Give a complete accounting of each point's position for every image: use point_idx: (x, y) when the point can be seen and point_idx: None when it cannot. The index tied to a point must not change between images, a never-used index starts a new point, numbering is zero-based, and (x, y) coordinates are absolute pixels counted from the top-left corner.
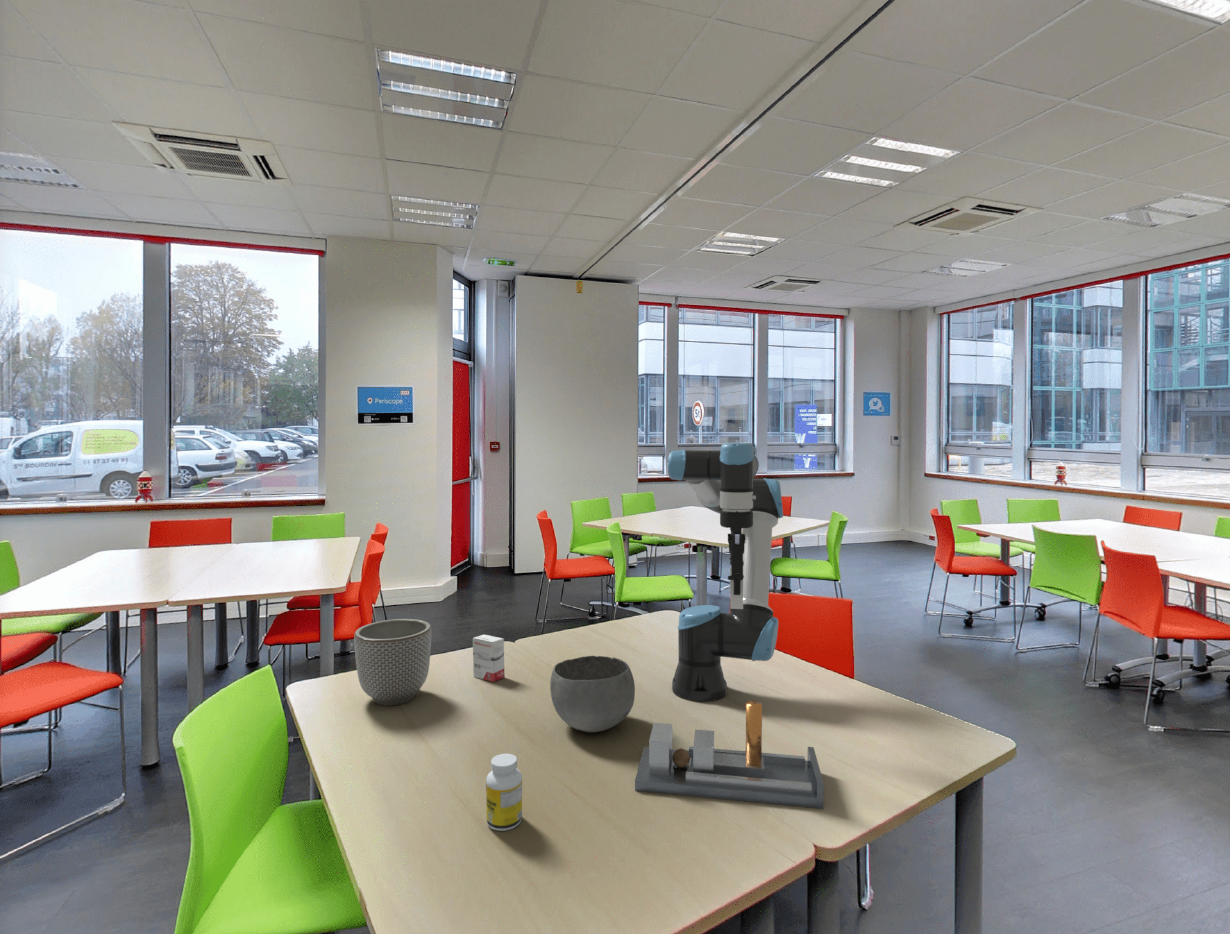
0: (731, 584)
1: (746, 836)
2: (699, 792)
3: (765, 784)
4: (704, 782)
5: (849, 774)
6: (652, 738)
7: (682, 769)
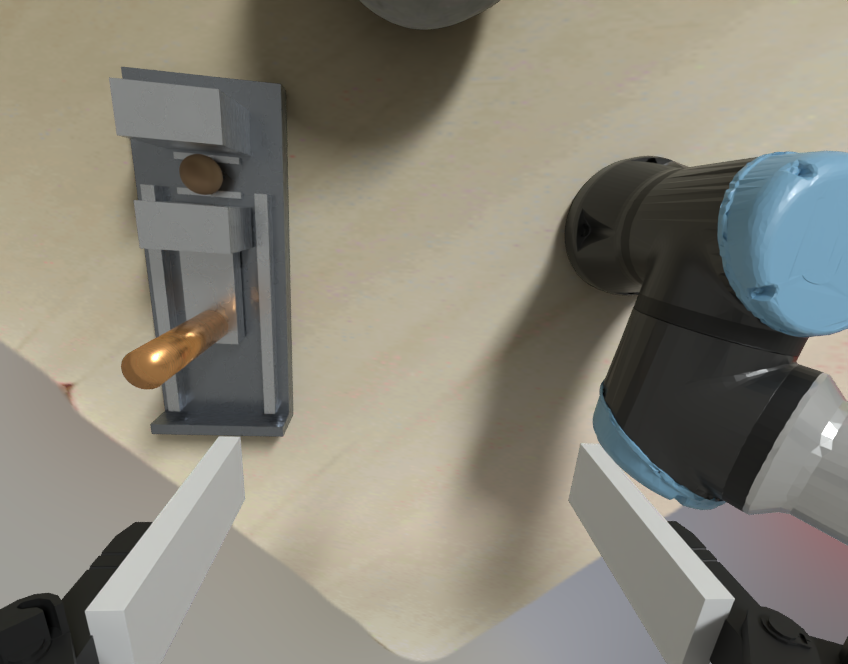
0: (122, 570)
1: (54, 288)
2: None
3: None
4: None
5: (292, 463)
6: (120, 87)
7: None
